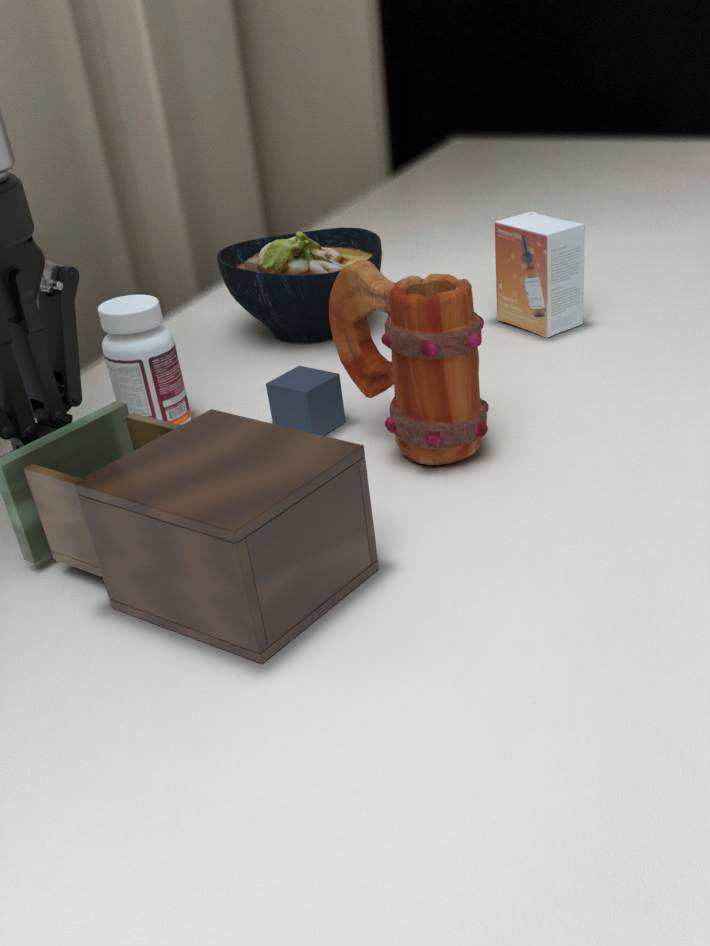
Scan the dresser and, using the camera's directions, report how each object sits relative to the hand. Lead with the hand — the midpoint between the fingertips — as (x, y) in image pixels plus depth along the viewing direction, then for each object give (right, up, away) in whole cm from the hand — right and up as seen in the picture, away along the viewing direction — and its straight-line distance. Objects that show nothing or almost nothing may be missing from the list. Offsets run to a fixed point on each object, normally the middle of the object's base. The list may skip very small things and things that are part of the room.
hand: (61, 506), depth 81 cm
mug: (+27, +6, +10) cm, 29 cm away
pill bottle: (+3, +9, +16) cm, 19 cm away
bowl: (+14, +24, +35) cm, 44 cm away
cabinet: (+16, -7, -7) cm, 19 cm away
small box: (+39, +24, +33) cm, 56 cm away
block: (+17, +9, +14) cm, 24 cm away
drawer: (+5, -2, -2) cm, 6 cm away
